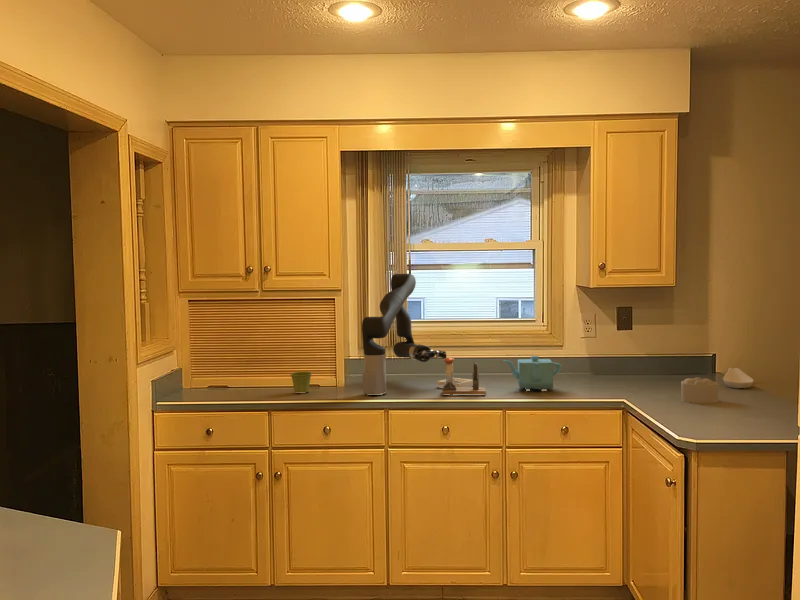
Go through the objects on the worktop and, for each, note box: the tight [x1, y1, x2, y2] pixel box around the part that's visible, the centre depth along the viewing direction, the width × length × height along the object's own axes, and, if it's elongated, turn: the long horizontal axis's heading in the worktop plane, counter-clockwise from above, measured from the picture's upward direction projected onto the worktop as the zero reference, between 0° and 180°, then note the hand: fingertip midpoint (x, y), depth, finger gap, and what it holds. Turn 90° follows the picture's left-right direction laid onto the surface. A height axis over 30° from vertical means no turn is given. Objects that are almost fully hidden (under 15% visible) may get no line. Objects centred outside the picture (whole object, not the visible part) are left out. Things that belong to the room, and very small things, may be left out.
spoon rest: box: [722, 367, 755, 389], centre depth 311 cm, size 24×12×7 cm, turn 165°
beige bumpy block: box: [680, 376, 719, 404], centre depth 277 cm, size 10×13×9 cm
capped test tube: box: [443, 357, 455, 387], centre depth 303 cm, size 4×4×13 cm
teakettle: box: [503, 355, 563, 390], centre depth 309 cm, size 19×19×15 cm
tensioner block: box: [441, 361, 487, 395], centre depth 303 cm, size 10×18×13 cm, turn 85°
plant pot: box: [290, 371, 313, 393], centre depth 314 cm, size 9×9×9 cm
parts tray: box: [436, 377, 473, 387], centre depth 321 cm, size 12×12×3 cm
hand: (436, 356), depth 313 cm, fingers open, 8 cm apart
